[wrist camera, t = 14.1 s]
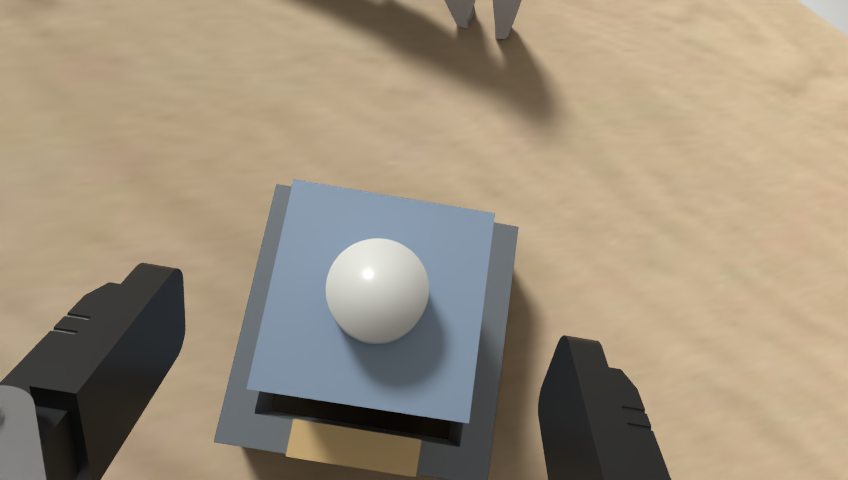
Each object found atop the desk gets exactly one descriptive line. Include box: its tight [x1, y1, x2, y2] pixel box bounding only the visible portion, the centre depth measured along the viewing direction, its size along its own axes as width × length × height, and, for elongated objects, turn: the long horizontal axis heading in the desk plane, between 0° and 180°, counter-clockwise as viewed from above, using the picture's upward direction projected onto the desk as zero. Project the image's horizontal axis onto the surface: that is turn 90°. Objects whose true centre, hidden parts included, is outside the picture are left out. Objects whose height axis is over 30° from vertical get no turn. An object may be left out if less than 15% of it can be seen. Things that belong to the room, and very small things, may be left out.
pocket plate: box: [214, 184, 518, 480], centre depth 20 cm, size 9×8×3 cm
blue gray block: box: [247, 179, 495, 423], centre depth 16 cm, size 4×4×11 cm
